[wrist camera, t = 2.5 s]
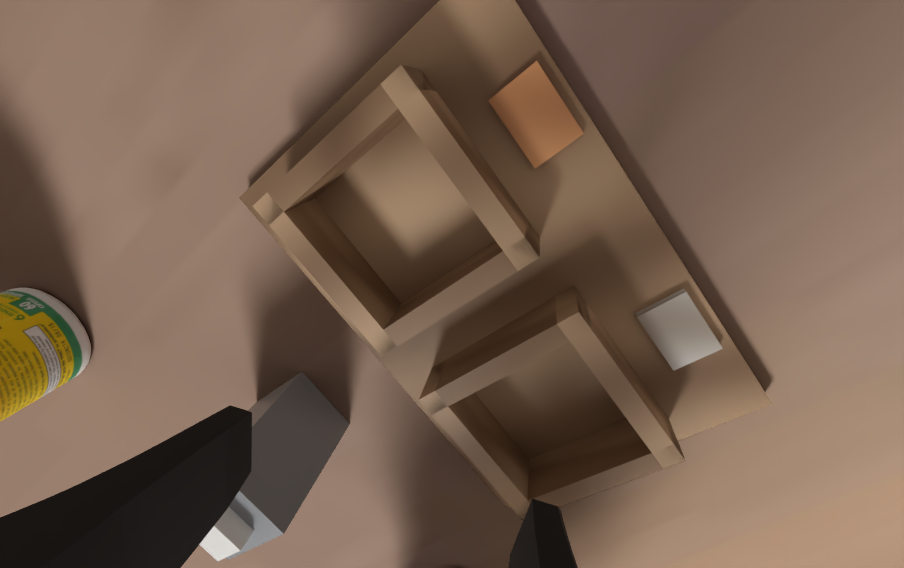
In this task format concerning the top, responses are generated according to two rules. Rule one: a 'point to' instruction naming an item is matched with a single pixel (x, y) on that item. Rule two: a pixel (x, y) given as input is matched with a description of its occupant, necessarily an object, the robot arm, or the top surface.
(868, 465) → the top surface
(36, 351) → the supplement bottle
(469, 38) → the socket board
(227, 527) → the plug
